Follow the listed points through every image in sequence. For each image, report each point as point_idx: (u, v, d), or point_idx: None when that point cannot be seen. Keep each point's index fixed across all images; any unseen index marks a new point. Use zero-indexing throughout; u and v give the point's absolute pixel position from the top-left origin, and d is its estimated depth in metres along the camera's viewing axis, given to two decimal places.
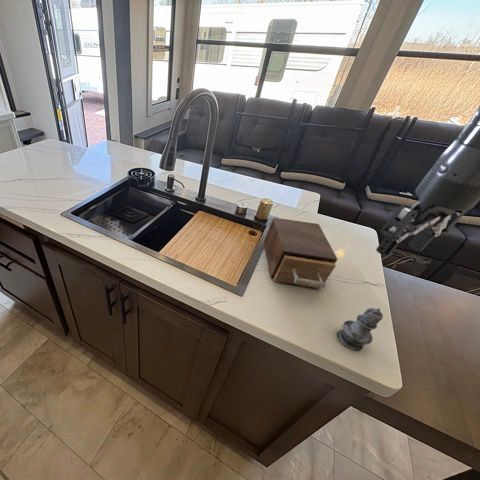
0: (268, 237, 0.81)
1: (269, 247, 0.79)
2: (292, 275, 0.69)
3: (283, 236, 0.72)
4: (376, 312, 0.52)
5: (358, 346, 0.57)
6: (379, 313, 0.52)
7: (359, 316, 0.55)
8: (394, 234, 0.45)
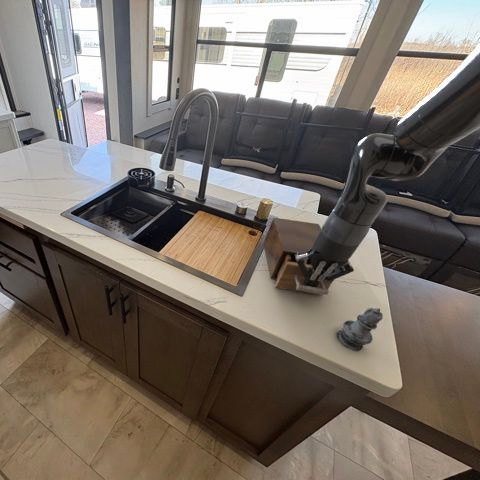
0: (268, 237, 0.81)
1: (269, 247, 0.79)
2: (294, 281, 0.68)
3: (283, 236, 0.72)
4: (376, 312, 0.52)
5: (358, 346, 0.57)
6: (379, 313, 0.52)
7: (359, 316, 0.55)
8: (302, 273, 0.61)
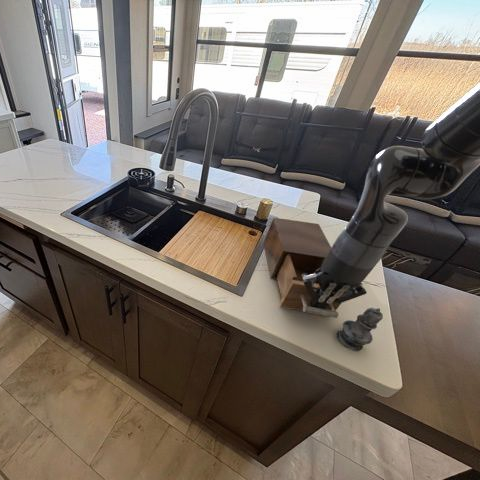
0: (268, 237, 0.81)
1: (269, 247, 0.79)
2: (300, 301, 0.62)
3: (283, 236, 0.72)
4: (376, 312, 0.52)
5: (358, 346, 0.57)
6: (379, 313, 0.52)
7: (359, 316, 0.55)
8: (310, 295, 0.56)
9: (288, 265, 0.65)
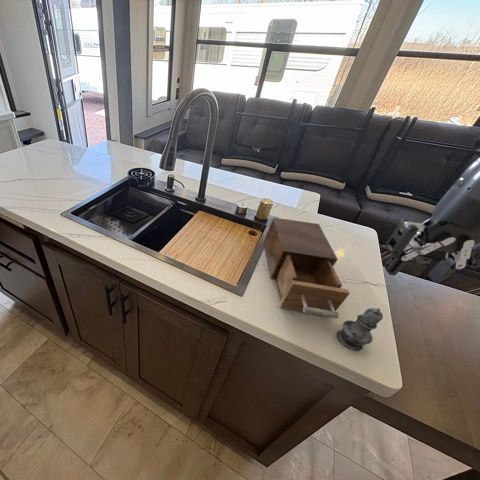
0: (268, 237, 0.81)
1: (269, 247, 0.79)
2: (300, 302, 0.62)
3: (283, 236, 0.72)
4: (376, 312, 0.52)
5: (358, 346, 0.57)
6: (379, 313, 0.52)
7: (359, 316, 0.55)
8: (394, 249, 0.42)
9: (288, 265, 0.65)
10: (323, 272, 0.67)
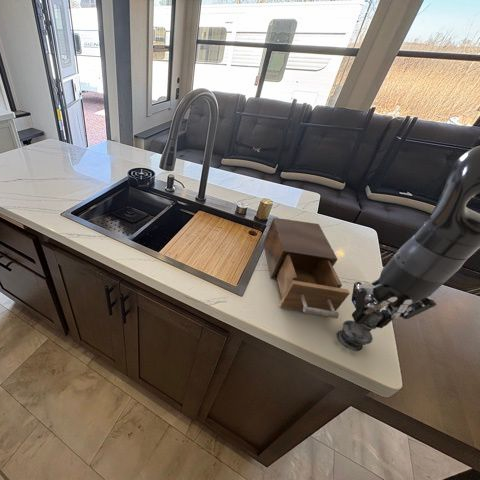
0: (268, 237, 0.81)
1: (269, 247, 0.79)
2: (300, 302, 0.62)
3: (283, 236, 0.72)
4: (376, 312, 0.52)
5: (358, 346, 0.57)
6: (379, 313, 0.52)
7: None
8: (356, 305, 0.51)
9: (288, 265, 0.65)
10: (323, 272, 0.67)
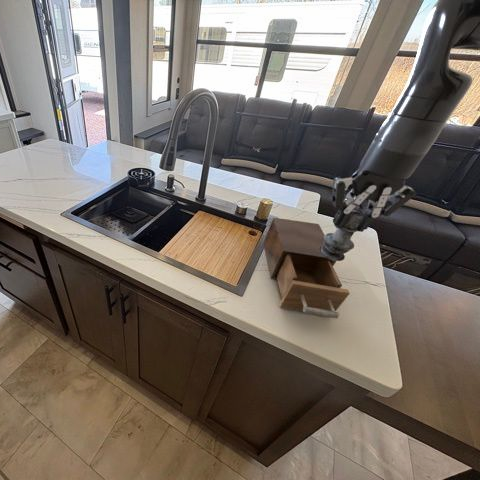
0: (268, 237, 0.81)
1: (269, 247, 0.79)
2: (300, 302, 0.62)
3: (283, 236, 0.72)
4: (356, 212, 0.51)
5: (340, 257, 0.56)
6: (359, 213, 0.51)
7: None
8: (335, 203, 0.50)
9: (288, 265, 0.65)
10: (323, 272, 0.67)
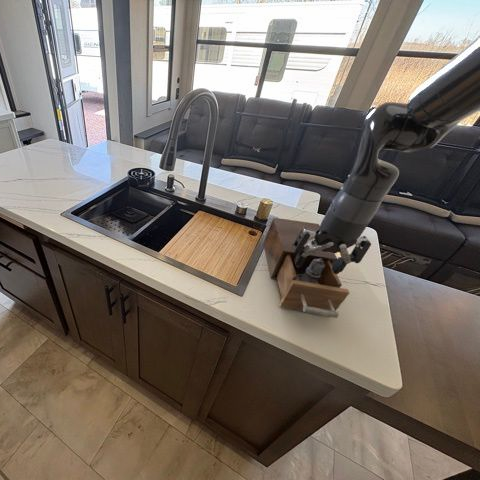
0: (268, 237, 0.81)
1: (269, 247, 0.79)
2: (300, 301, 0.62)
3: (283, 236, 0.72)
4: (319, 261, 0.60)
5: None
6: (322, 262, 0.60)
7: (307, 268, 0.64)
8: (296, 248, 0.59)
9: (288, 265, 0.65)
10: (323, 271, 0.67)
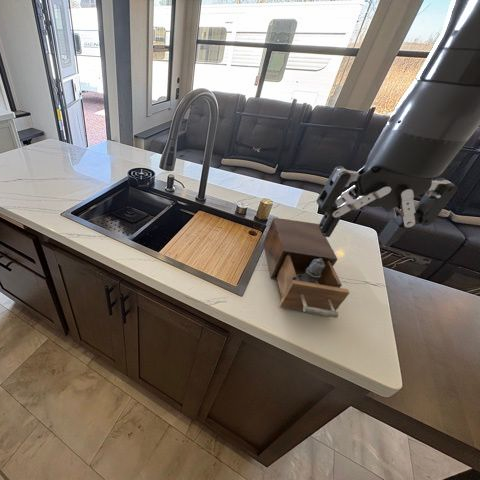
0: (268, 237, 0.81)
1: (269, 247, 0.79)
2: (300, 301, 0.62)
3: (283, 236, 0.72)
4: (319, 261, 0.60)
5: None
6: (322, 262, 0.60)
7: (307, 268, 0.64)
8: (324, 202, 0.36)
9: (288, 265, 0.65)
10: (323, 271, 0.67)
